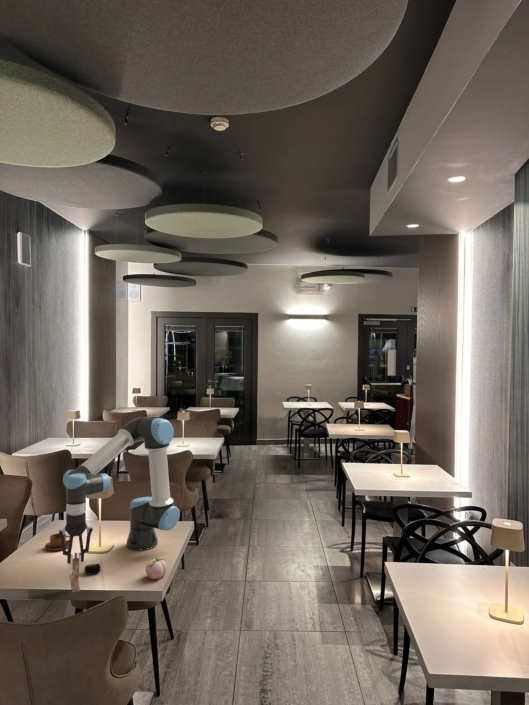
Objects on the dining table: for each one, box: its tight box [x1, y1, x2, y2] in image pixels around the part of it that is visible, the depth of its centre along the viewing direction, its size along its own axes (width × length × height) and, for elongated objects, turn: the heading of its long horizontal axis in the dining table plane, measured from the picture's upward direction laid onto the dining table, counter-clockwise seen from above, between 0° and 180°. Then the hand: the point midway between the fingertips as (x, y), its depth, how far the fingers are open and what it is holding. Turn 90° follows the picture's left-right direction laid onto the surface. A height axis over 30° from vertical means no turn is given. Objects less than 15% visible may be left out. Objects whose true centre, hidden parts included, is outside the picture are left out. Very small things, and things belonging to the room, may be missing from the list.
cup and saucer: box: [44, 532, 70, 551], centre depth 269 cm, size 12×12×6 cm
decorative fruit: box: [145, 557, 168, 580], centre depth 232 cm, size 9×8×10 cm
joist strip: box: [69, 573, 81, 593], centre depth 227 cm, size 3×18×1 cm, turn 22°
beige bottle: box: [71, 552, 80, 577], centre depth 221 cm, size 3×3×9 cm
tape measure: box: [83, 563, 102, 575], centre depth 238 cm, size 7×7×4 cm
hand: (75, 570), depth 221 cm, fingers closed on beige bottle, 2 cm apart
